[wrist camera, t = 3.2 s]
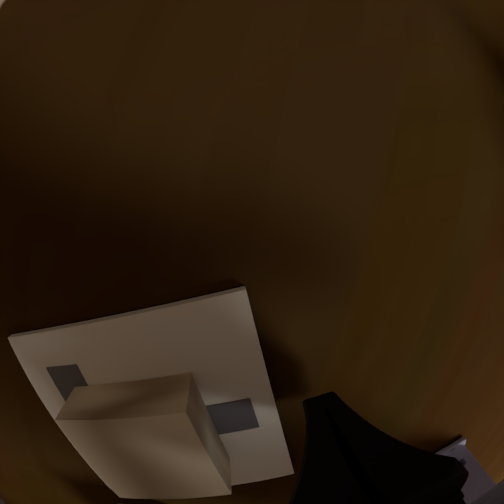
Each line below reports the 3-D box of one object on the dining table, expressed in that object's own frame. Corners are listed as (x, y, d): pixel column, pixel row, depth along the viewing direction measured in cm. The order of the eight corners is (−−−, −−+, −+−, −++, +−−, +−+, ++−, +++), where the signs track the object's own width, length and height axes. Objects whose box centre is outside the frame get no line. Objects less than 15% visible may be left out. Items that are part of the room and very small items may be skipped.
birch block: (191, 372, 12) (185, 412, 9) (229, 457, 13) (231, 494, 11) (74, 386, 11) (54, 419, 9) (127, 465, 13) (119, 497, 10)
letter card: (245, 285, 11) (245, 289, 11) (293, 468, 14) (294, 474, 14) (11, 334, 11) (6, 338, 11) (112, 485, 14) (110, 489, 13)
